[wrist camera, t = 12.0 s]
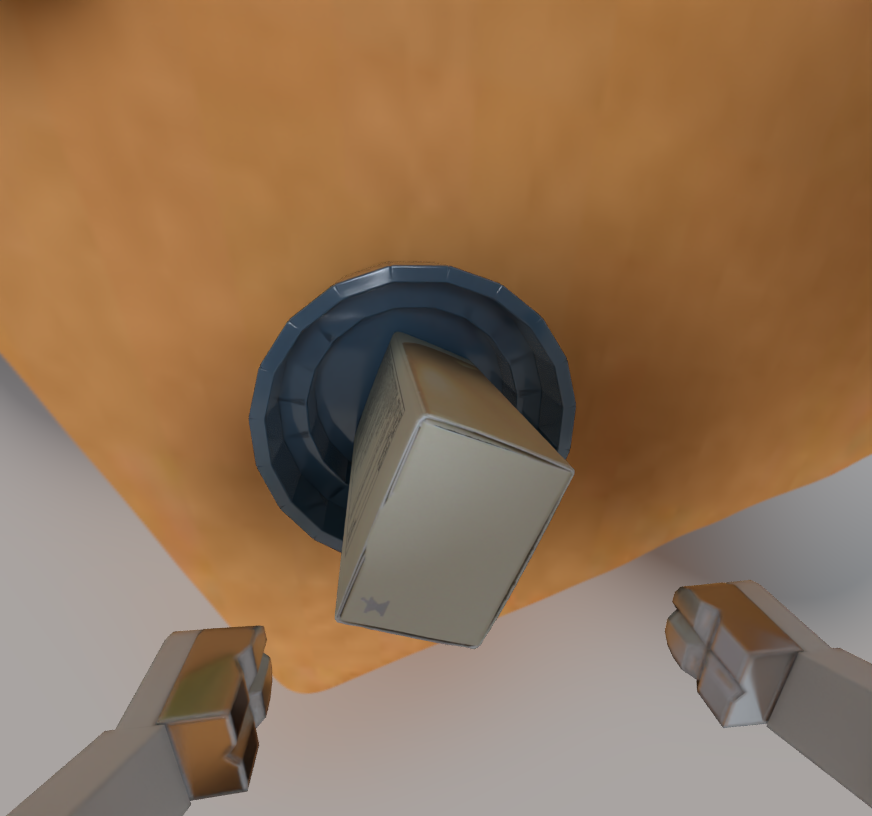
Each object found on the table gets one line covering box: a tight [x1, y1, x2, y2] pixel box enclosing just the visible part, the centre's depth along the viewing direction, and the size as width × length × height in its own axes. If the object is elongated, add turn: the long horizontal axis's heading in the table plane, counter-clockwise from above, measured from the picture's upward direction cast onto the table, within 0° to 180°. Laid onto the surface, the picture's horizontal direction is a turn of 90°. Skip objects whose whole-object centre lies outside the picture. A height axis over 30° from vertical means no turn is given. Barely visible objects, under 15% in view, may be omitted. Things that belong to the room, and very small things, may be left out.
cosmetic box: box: [335, 332, 575, 649], centre depth 16 cm, size 6×4×12 cm
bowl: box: [249, 262, 576, 553], centre depth 20 cm, size 13×13×6 cm
